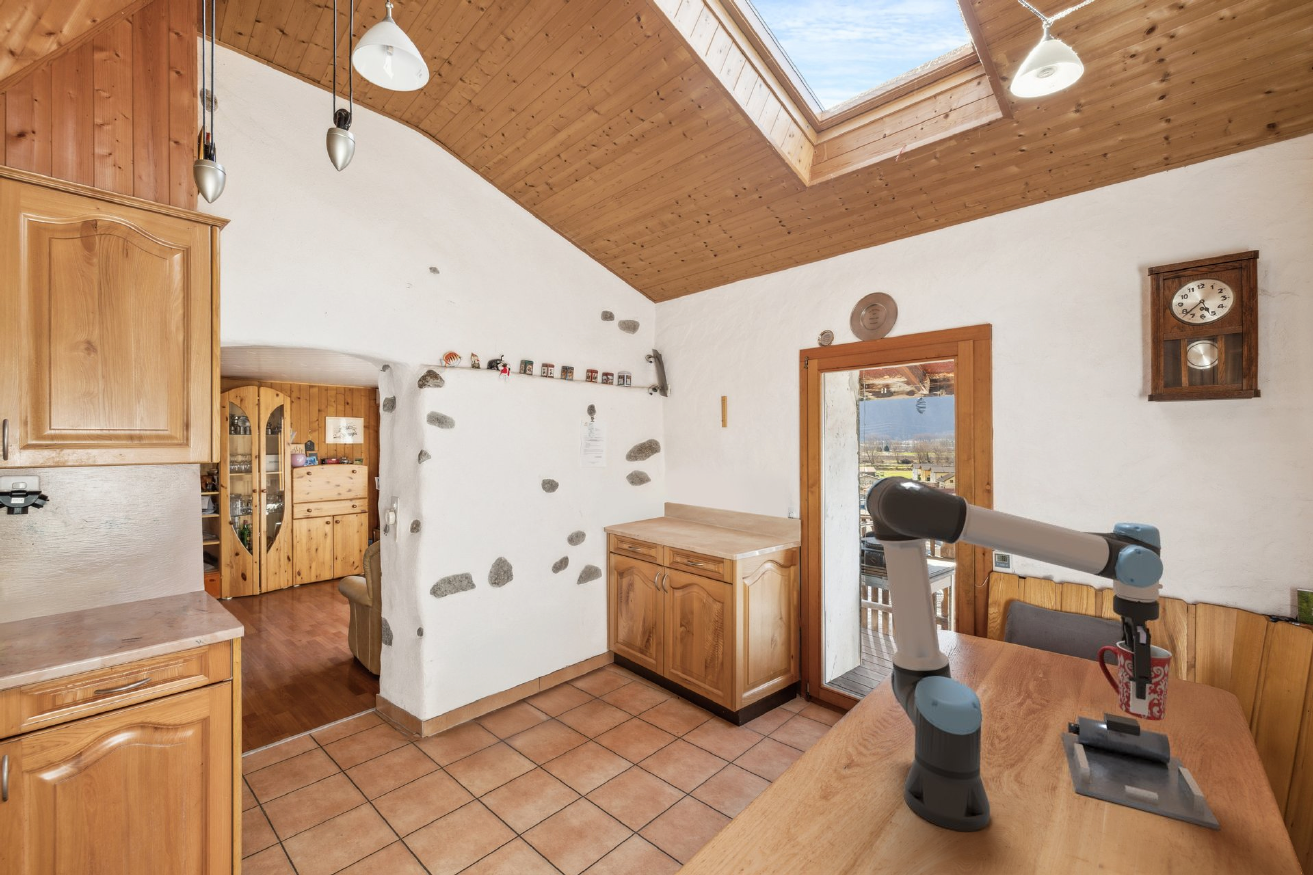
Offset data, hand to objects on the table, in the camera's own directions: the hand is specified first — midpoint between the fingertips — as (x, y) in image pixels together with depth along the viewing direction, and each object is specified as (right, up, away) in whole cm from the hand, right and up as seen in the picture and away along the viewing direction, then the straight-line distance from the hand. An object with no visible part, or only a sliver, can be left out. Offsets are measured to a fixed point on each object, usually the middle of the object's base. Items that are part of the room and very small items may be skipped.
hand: (1134, 703), depth 122 cm
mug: (0, -2, +1) cm, 2 cm away
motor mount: (+2, -17, +3) cm, 18 cm away
